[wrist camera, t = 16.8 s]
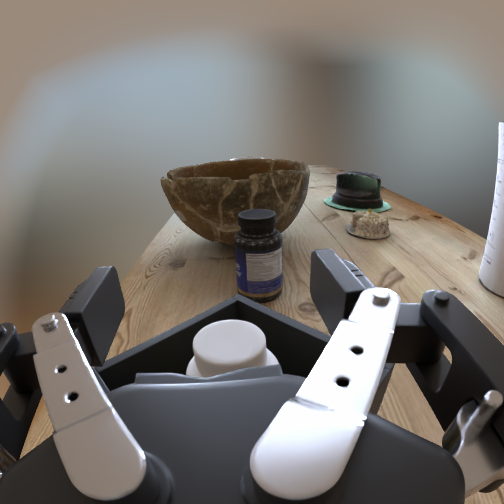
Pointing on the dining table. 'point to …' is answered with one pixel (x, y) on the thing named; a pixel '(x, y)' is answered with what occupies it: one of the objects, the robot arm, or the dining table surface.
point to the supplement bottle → (228, 349)
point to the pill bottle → (258, 255)
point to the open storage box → (236, 308)
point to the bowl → (235, 194)
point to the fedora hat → (358, 192)
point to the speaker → (496, 232)
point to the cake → (369, 225)
